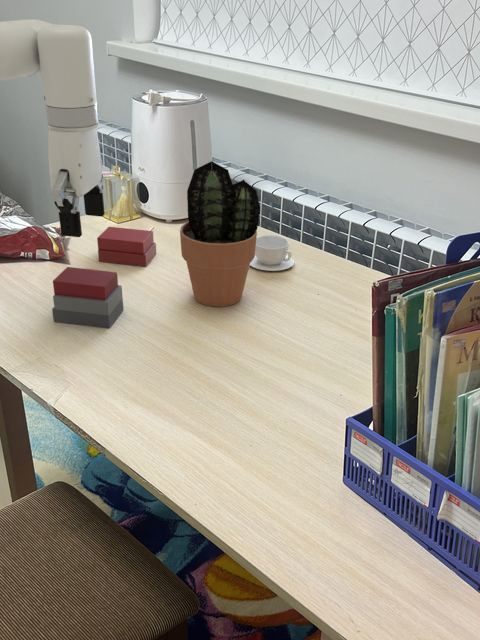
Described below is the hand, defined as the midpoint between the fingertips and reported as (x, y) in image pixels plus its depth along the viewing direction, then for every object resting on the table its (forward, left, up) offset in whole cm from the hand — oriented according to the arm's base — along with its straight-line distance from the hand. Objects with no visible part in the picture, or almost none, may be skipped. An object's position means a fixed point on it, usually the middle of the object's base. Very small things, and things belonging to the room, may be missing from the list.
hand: (83, 225), depth 112 cm
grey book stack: (-1, 0, -17) cm, 17 cm away
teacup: (+26, +31, -17) cm, 44 cm away
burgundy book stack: (-3, +26, -17) cm, 31 cm away
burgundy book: (-1, 0, -12) cm, 12 cm away
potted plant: (+19, +13, -17) cm, 29 cm away
